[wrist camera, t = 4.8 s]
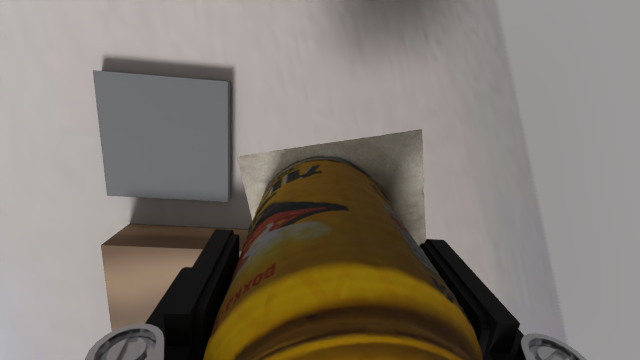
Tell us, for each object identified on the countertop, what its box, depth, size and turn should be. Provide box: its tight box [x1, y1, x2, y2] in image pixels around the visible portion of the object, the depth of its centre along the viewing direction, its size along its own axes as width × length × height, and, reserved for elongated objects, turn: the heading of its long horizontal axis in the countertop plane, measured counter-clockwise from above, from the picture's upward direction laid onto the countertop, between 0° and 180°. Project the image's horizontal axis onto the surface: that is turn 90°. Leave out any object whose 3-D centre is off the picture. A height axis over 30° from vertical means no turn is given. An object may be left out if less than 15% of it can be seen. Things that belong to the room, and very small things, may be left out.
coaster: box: [93, 70, 231, 202], centre depth 25 cm, size 10×10×1 cm
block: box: [101, 224, 248, 331], centre depth 28 cm, size 12×12×4 cm
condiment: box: [203, 129, 483, 360], centre depth 9 cm, size 7×8×12 cm
